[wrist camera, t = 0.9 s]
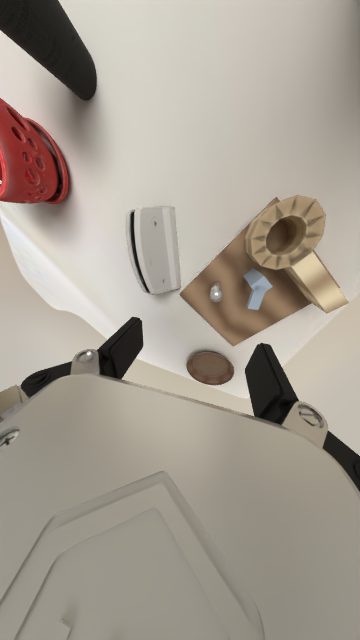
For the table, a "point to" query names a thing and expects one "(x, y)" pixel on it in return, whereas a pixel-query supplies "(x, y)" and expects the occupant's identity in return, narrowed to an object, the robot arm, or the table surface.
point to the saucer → (210, 368)
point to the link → (296, 249)
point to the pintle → (216, 291)
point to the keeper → (256, 288)
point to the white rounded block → (154, 248)
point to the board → (245, 289)
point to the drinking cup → (50, 41)
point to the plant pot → (29, 161)
